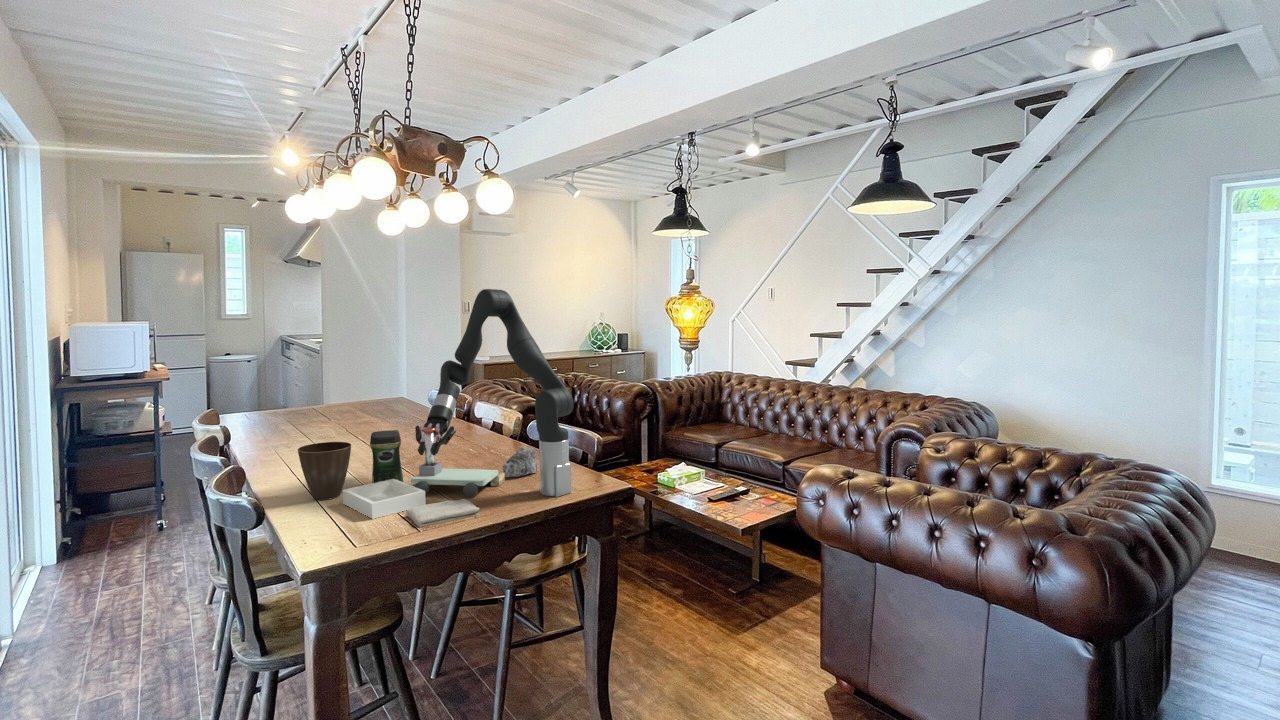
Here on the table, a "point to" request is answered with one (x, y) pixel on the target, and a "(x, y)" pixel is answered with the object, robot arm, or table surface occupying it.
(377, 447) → the coffee jar
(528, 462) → the mineral rock
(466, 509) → the washcloth
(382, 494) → the tray
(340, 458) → the plant pot
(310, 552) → the table surface
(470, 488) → the trolley
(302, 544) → the table surface
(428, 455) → the pin
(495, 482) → the block
